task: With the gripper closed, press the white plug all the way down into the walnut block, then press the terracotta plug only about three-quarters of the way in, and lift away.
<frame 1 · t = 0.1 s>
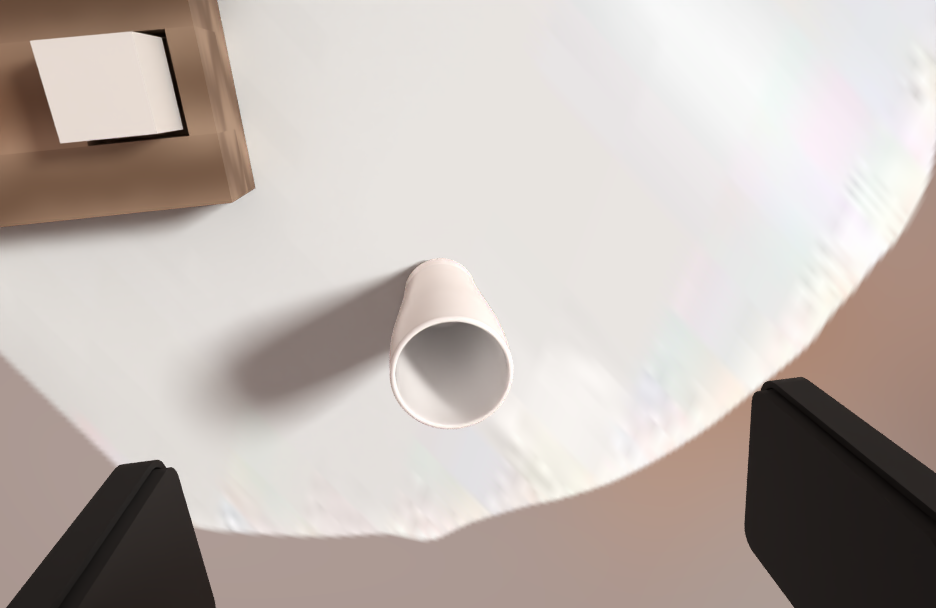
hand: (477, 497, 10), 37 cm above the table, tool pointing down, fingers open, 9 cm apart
white plug: (112, 88, 34), point 8 cm above the table, slide at 0.0 cm
drinking glass: (439, 289, 48), on the table
walnut block: (79, 97, 41), on the table
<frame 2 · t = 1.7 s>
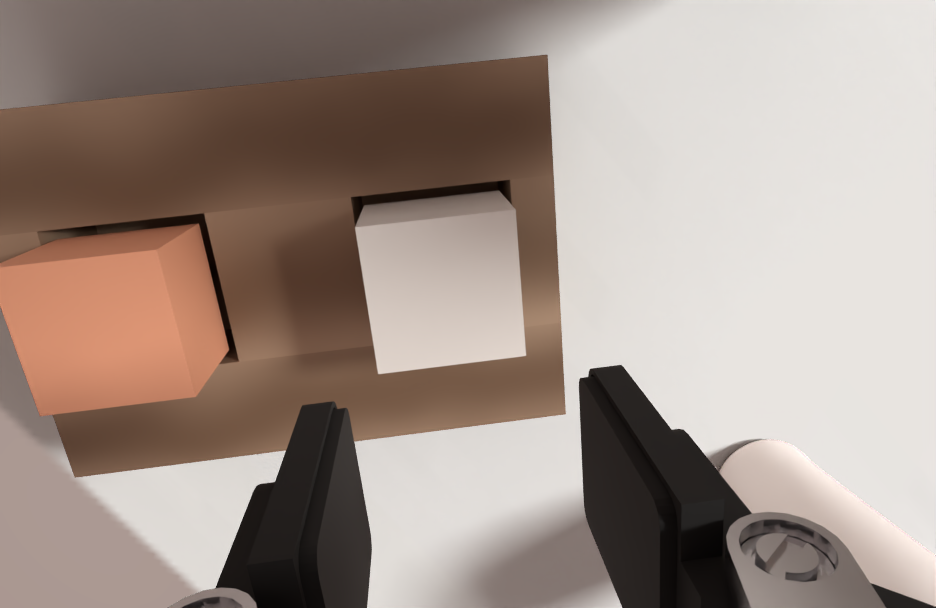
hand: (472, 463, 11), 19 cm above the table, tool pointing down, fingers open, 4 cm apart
white plug: (441, 277, 22), point 8 cm above the table, slide at 0.0 cm
drinking glass: (755, 473, 36), on the table
terracotta plug: (123, 314, 22), point 8 cm above the table, slide at 0.0 cm
walnut block: (315, 245, 29), on the table
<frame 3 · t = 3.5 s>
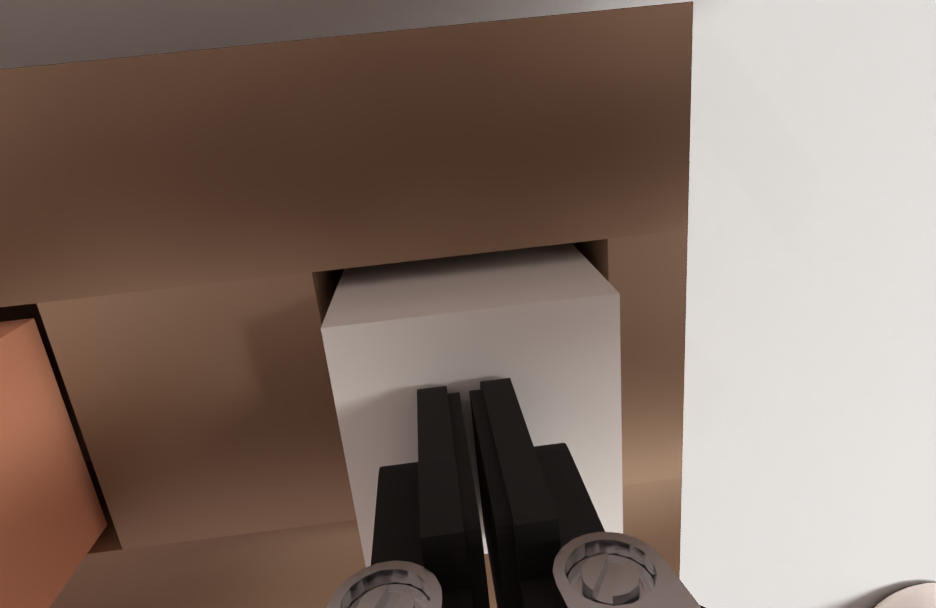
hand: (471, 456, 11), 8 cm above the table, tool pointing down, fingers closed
white plug: (474, 389, 13), point 6 cm above the table, slide at 1.6 cm, touching gripper
walnut block: (273, 317, 19), on the table
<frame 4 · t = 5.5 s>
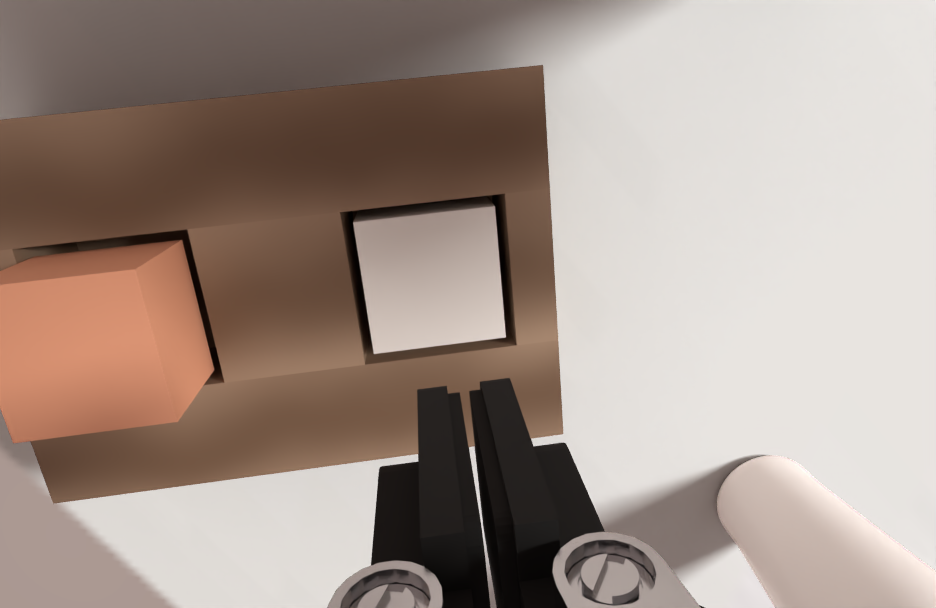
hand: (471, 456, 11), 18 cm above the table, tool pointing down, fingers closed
white plug: (430, 268, 25), point 4 cm above the table, slide at 3.6 cm
drinking glass: (756, 490, 35), on the table
terracotta plug: (102, 335, 21), point 8 cm above the table, slide at 0.0 cm
walnut block: (305, 259, 28), on the table
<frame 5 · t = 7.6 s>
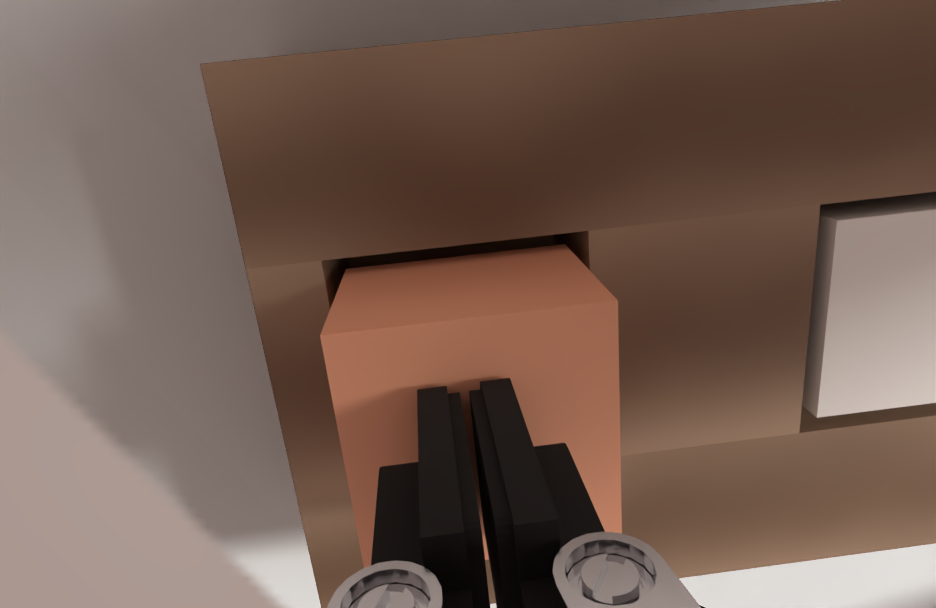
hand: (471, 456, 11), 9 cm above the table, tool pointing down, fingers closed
white plug: (871, 287, 17), point 4 cm above the table, slide at 3.6 cm
terracotta plug: (474, 395, 13), point 7 cm above the table, slide at 0.2 cm, touching gripper
walnut block: (622, 269, 20), on the table
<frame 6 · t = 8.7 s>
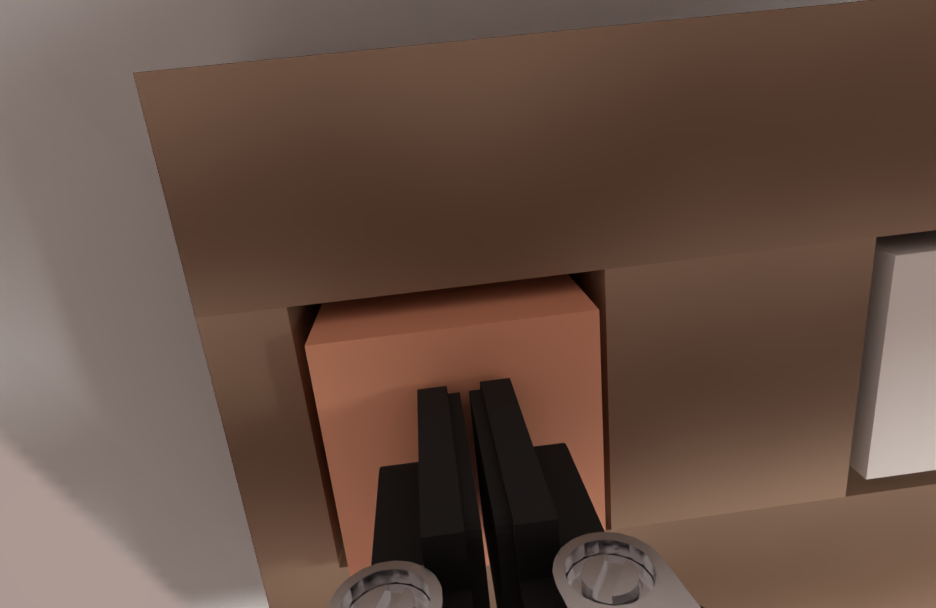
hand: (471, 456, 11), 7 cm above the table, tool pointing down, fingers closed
white plug: (921, 325, 15), point 4 cm above the table, slide at 3.6 cm
terracotta plug: (459, 403, 13), point 5 cm above the table, slide at 2.6 cm
walnut block: (634, 299, 18), on the table
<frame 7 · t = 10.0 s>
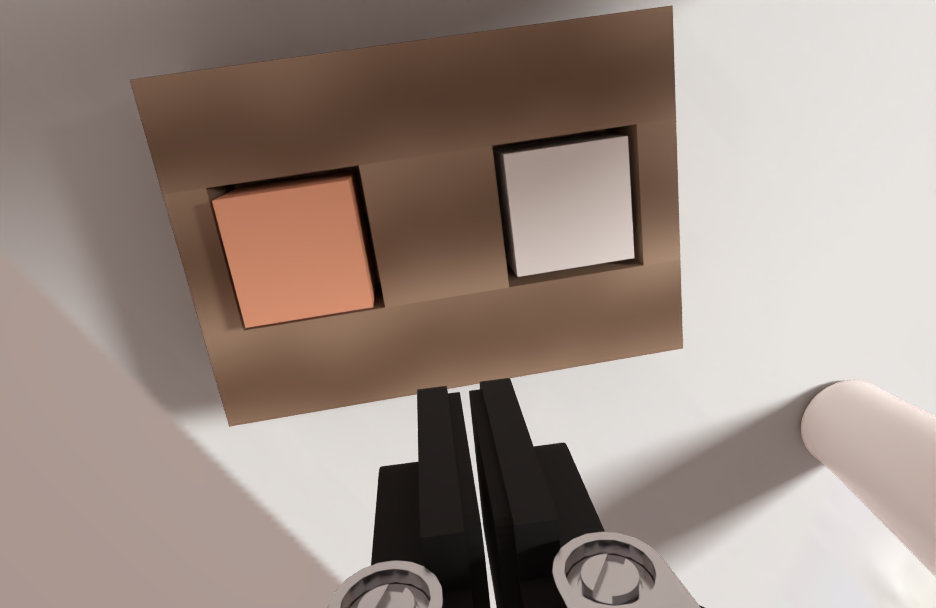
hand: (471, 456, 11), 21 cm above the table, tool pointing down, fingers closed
white plug: (559, 201, 27), point 4 cm above the table, slide at 3.6 cm
drinking glass: (836, 415, 37), on the table
terracotta plug: (303, 245, 26), point 5 cm above the table, slide at 2.6 cm
walnut block: (429, 206, 31), on the table
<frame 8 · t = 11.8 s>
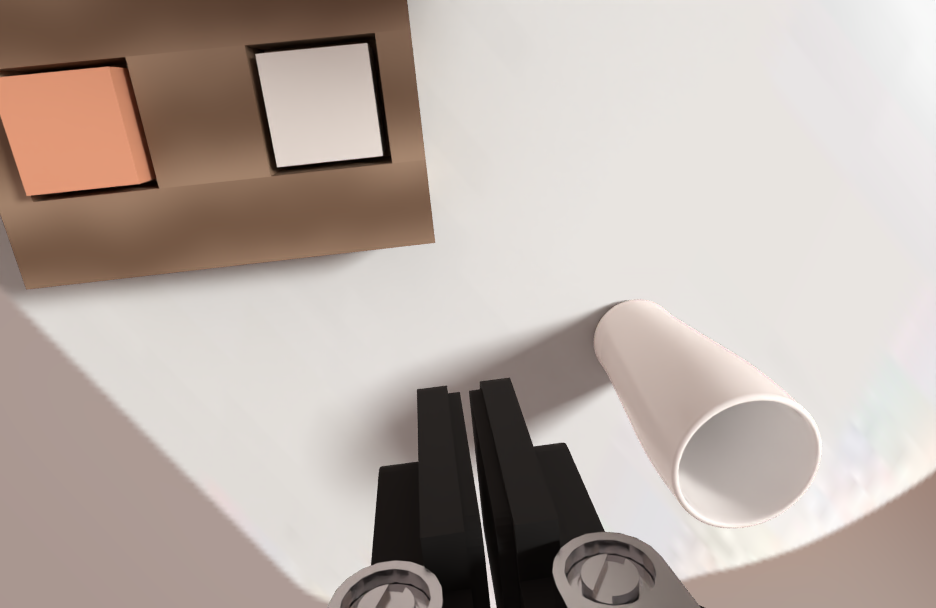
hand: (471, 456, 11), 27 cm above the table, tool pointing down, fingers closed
white plug: (326, 105, 31), point 4 cm above the table, slide at 3.6 cm
drinking glass: (630, 334, 41), on the table
terracotta plug: (88, 130, 29), point 5 cm above the table, slide at 2.6 cm
walnut block: (235, 114, 34), on the table
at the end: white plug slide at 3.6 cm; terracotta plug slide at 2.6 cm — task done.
